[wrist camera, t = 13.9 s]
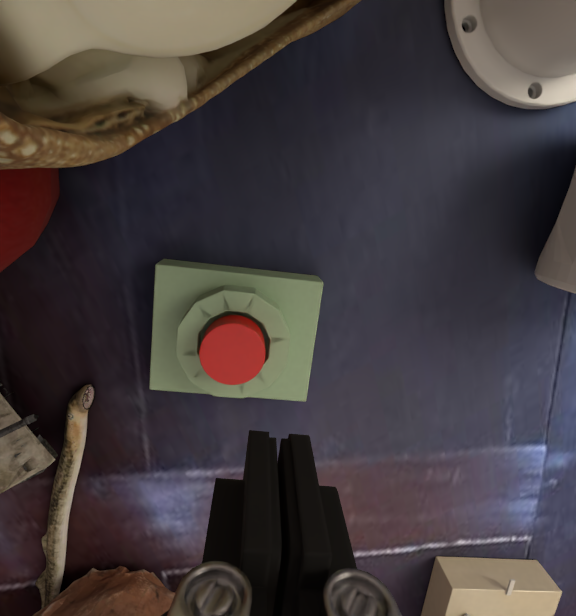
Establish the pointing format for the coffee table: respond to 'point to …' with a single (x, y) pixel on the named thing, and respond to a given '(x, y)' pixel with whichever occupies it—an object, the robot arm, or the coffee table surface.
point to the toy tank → (20, 448)
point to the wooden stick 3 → (64, 493)
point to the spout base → (490, 588)
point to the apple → (25, 208)
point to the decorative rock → (112, 595)
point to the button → (232, 350)
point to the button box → (233, 301)
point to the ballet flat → (128, 67)
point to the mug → (561, 247)
